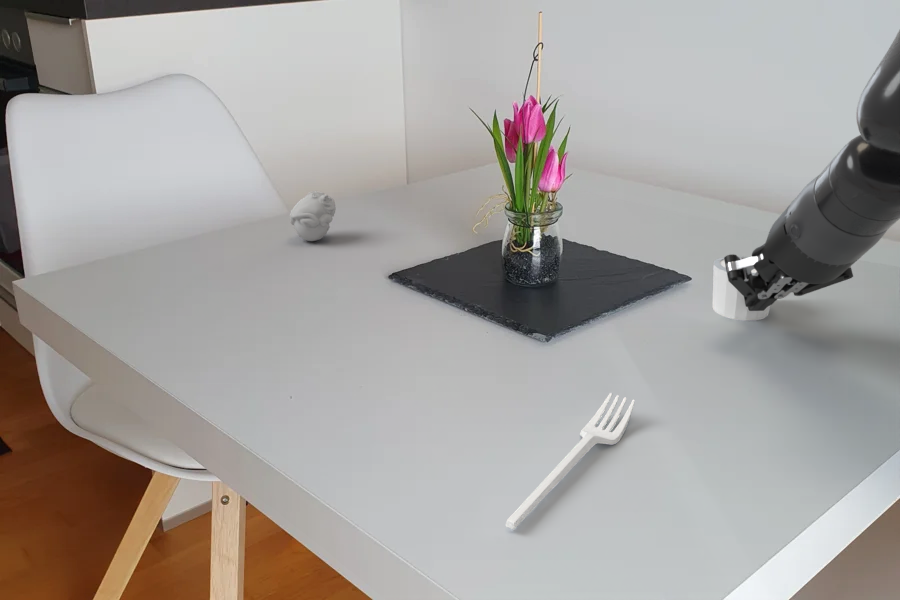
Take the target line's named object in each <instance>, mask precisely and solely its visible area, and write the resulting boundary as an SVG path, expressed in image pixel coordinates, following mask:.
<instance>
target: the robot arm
mask: <svg viewBox="0 0 900 600" xmlns="http://www.w3.org/2000/svg"><path fill="white" fill-rule="evenodd" d="M855 113H856V114H855V115H856V116H855V117H856V125H857V129H858V132H859V134H858V135H857V136H855V137H854V138H852V139H850V140H849V141H848V142H847V143H846V144H845V145H844V146H843V147H842V148H841V149H840V150H839V151H838V153H837V154H836V155H834V157H833V158H832V160H831V161H830V162H829V163H828V164H827V165H826V166H825V167H824V169H822V171H821V172H820V173H819V174H818V175H817V176H815V177H814V178H812V179H811V181H809V182H808V183H807V184H806V185H805V186H804V187H803V189H801V191H800V192H799V193H798V194H797V195H796V196H795V198H794V199H793V200H792V201H791V202H790V203H789V205H788V206H787V207H786V208H785V210H784V211H783V212H782V213H781V214H780V215H779V216H778V218H777V219H776V220H775V221H774V222H773V224H772V225H771V227H770V229H769V232H768V234H767V237H766V239H765V243H763V244H762V245H760V246H758V247H756V248H754V250H753V251H752V252H751V256H747V257H748V258H744V257H745V256H743V257H741V258H740V259H739V258H738V256H739V255H737V254H734V253H733V254H727V255H725V256H724V260H725V266H726V271H727V276H728V281H729V282H730V283H731V284H732V285H733V286H734V287H735V288H736V289H737V290H738V291H739V292H740V293H741V294H742V295H743V296H744V300H745V305H746V307H748V309H749V311H764V310H765V309H766V308H767V307H768V306H770V305H771V306H772V305H774V304H775V302H776V301H778V300H781V299H785V298H786V297H787V296H789V295H790V294H791V293H793V295H794V296H796V297H801V296H804V295H807V294H809V293H812V292H816V291H818V290H821V289H824V288H827V287H830V286H833V285H835V284H838V283H842V282H843V281H847V280H850V279H852V278H853V277H854V273H853V269H852V266H854V264H855V263H856V262H857V261H858V260H859V259H861V258H862V257H863V256H864V255H865V254H866V253H868V252H869V251H870V250H871V249H872V248H873V247H875V245H877V243H879V241H881V240H882V238H883V237H884V235H886V233H887V231H888V230H889V229H890V228H892V226H894V225H895V224H896V223H897V222H898V221H899V220H900V29H899V30H898V32H897V33H896V35H895V37H894V39H893V40H892V42H891V44H890V46H889V47H888V49H887V51H886V53H885V54H884V56H883V57H882V59H881V60H880V62H879V63H878V65H877V67H876V68H875V69H874V71H873V73H872V74H871V76H870V78H869V79H868V81H867V82H866V84H865V86H864V87H863V90H862V92H861V93H860V96H859V99H858V102H857V106H856V112H855ZM753 269H755V270H756V271H757V272H756V273H755V275H752V272H751V270H753ZM771 306H770V307H771Z"/></svg>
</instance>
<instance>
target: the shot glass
mask: <svg viewBox="0 0 900 600" xmlns="http://www.w3.org/2000/svg"><path fill="white" fill-rule="evenodd" d="M737 256H738V258H739V259H740V258H741V257H744V258H748V257H749V256H744V255H743V256H742V255H737ZM724 257H725V256H724ZM724 257H718V258H717V259H715V260H713V270H712V272H713V273H712V310H713V311H714V312H715V313H716V314H718V315H720V316H722V317H724V318H728V319H730V320H736V321H744V322H751V321H760V320H764V319H766V318H767V317H768V316H769V315H770V314H769V313H770V309H771V306H772V305H770V306H768V307H767V308H766V309H765V310H764V311H749V309H748V307H746V305H745V300H744V296H743V295H742V294H741V293H740V292H739V291H738V290H737V289H736V288H735V287H734V286H733V285H732V284H731V283H730V282H729V281H728V276H727V271H726V266H725V260H724ZM751 272H752V275H755V273H756V272H757V271H756V270H755V269H753V270H751Z"/></svg>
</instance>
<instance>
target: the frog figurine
mask: <svg viewBox="0 0 900 600" xmlns="http://www.w3.org/2000/svg"><path fill="white" fill-rule="evenodd" d="M336 207H337V206H336V202H335V200H334V197H333V198H332V197H331V196H330V195H328V194H325V193H324V192H322V191H318V190H312V191H309V192H307V194H306V195H305V196H304V197H303V198H300V200H298V202H296V204H295V205H294V207H293V208H292V209H291V210H290V214H289V220H290V224H291V226H293V227H294V231H295V232H296V234H297V236H299V237H300V238H301V239H302V240H304V241H308V242H316V241H319V240H321V239H323V238H325V236H326V235H327V233H328V231H329V230H330V228H331V226H330V224H331V222H333V217H335V214H336Z"/></svg>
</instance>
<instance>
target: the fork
mask: <svg viewBox="0 0 900 600" xmlns="http://www.w3.org/2000/svg"><path fill="white" fill-rule="evenodd" d="M612 396H613V393H612V392H609V394H608V395H607V397H606V398H605V399H604V401H603V402H602V404H601V405H600V407H599V408H598V410H597V411H596V412H595V413H594V415H593V416H592V417H591V419H590V420H589V421H588V422H587V423H586V425H584V427H583V428H582V429H581V430H580V432H579V436H580V437H582V438H581V439H580V440H579V441H578V442H577V443H576V444H575V446H574V447H573V448H572V449H571V450H570V451H569V452H568V453H567V454H566V456H565V457H563V458H562V460H561V461H560V462H559V463H558V464H557V465H555V467H554V468H553V469H552V471H551V472H550V473H549V474H547V476H546V477H545V478H544V479H543V480H542V481H541V482H540V484H538V486H537V487H536V488H534V490H533V491H532V492H531V493H530V494H529V495H528V497H526V499H524V501H523V502H522V503H521V504H520V505H519V507H518V508H517V509H516V510H515V511H514V512H513V513H512V514H511V515H510V516H509V517H508V518H507V519H506V522H505V527H506V528H508V529H511V530H516V528H517V527H518V526H519V525H520V524H521V523H523V520H525V519H526V518H527V517H528V516H529V515H530V513H531V512H532V511H533V510H534V509H535V508H536V507H538V505H539V504H540V503H541V502H542V500H544V499H545V498H546V496H548V494H550V492H552V490H553V489H554V488H555V487H556V486H557V485H558V484H559V483H560V482H561V481H562V480H563V479H564V478H565V477H566V475H568V473H570V471H572V469H573V468H574V467H575V466H576V465H577V464H578V463H579V462H580V461H581V460H582V458H584V457H585V456H586V454H587V453H588V452H590V450H591V449H592V448H593V447H594V446H595V445H596V444H602V445H603V444H604V445H616V444H617V443H619V442H620V440H621V439H622V437H623V435H624V433H625V432H626V429H627V426H628V425H629V421H630V419H631V416H632V412H633V410H634V406H635V401H636V400H635V399H632V400H631V402H630V404H629V406H628V408H627V410H626V412H625V413H624V415H623V417H622V418H621V420H620V421H619V418H620V415H621V414H622V412H623V409H624V407H625V404H626V401H627V397H626V396H625V397H623V399H622V401H621V403H620V405H619V406H618V407H617V410H616V411H615V408H616V405H617V403H618V401H619V399H620V395H619V394H616V395H615V398H614V399H613V401H612V403H611V405H610V407H609V409H608V410H607V412H606V414H605V415H604V413H605V411H606V409H607V407H608V405H609V402H610V401H611V398H612ZM614 411H615V413H614ZM613 413H614V415H613V417H612V414H613ZM603 415H604V417H603ZM602 417H603V418H602ZM611 417H612V418H611ZM610 418H611V420H610ZM601 419H602V420H601ZM609 421H610V422H609ZM618 421H619V423H618V424H617V422H618ZM616 424H617V426H616ZM615 426H616V427H615Z"/></svg>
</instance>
